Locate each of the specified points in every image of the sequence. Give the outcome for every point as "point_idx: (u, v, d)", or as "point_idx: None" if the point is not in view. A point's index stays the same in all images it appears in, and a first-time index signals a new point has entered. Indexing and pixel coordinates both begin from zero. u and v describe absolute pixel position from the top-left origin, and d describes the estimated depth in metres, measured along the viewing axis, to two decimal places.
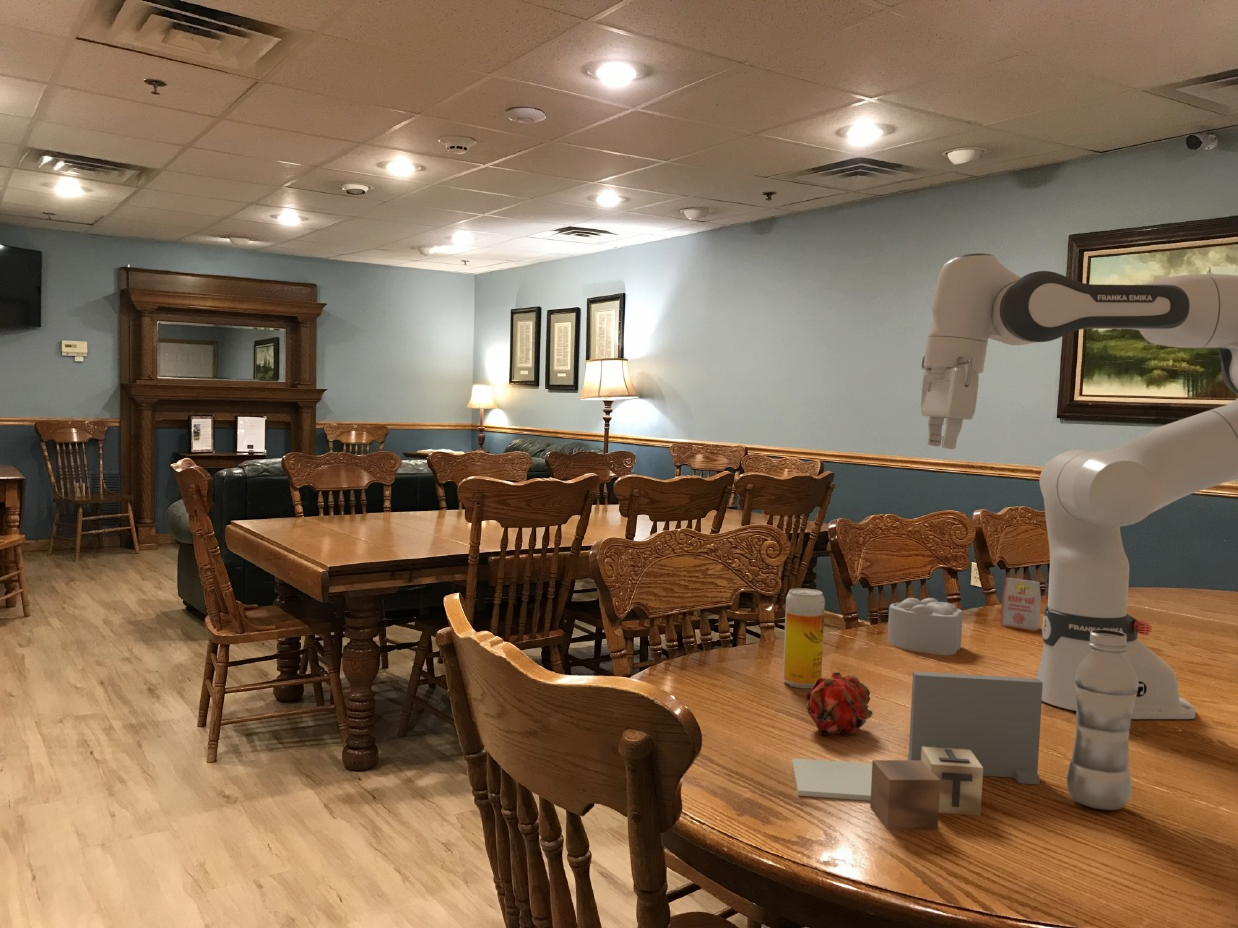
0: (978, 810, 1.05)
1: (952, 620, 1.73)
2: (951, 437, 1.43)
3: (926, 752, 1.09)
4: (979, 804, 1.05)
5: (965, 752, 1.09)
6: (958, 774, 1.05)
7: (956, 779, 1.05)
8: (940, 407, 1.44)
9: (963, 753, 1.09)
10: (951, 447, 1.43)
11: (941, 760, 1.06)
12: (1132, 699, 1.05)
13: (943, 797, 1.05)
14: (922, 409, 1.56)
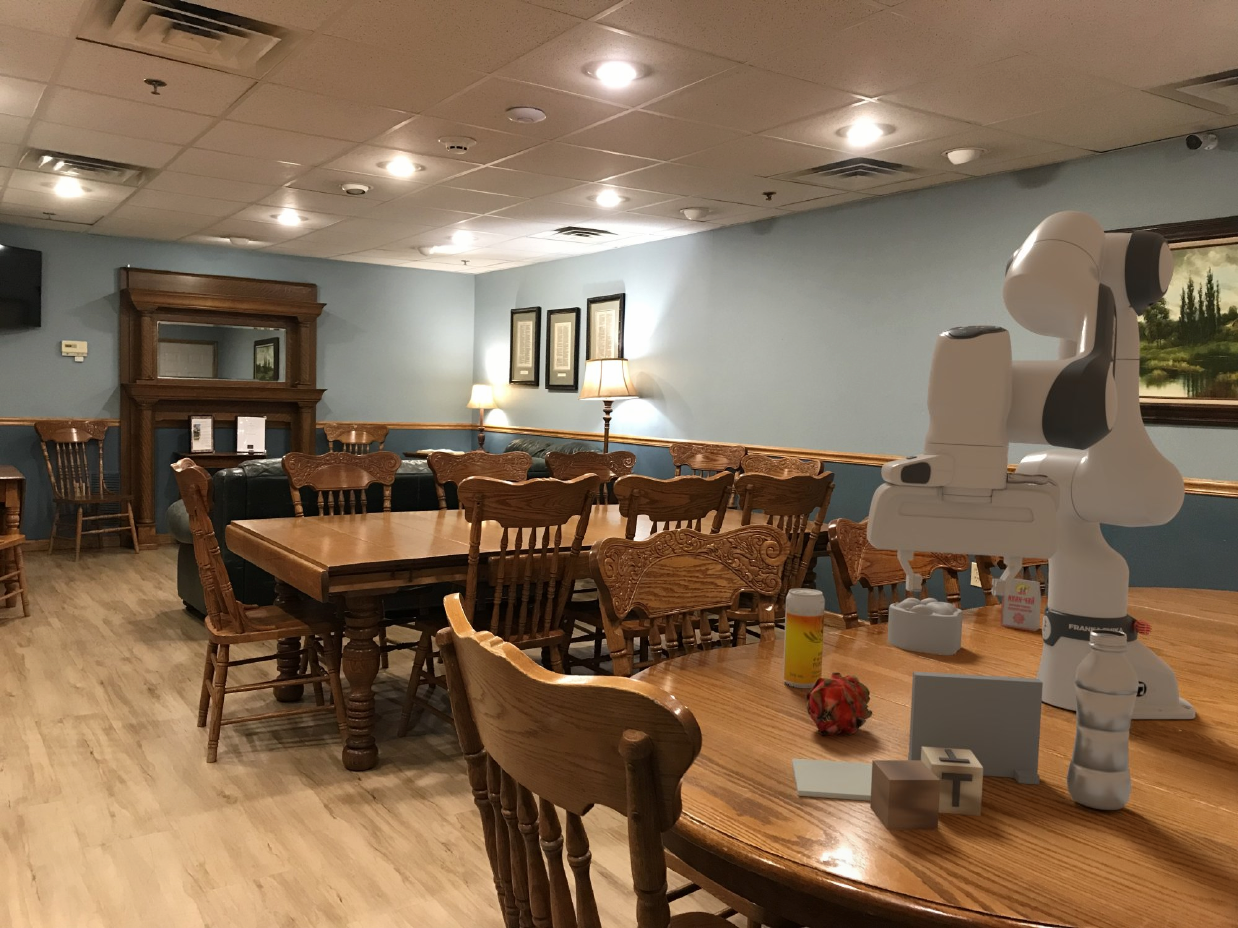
0: (978, 810, 1.05)
1: (952, 620, 1.73)
2: None
3: (926, 752, 1.09)
4: (979, 804, 1.05)
5: (965, 752, 1.09)
6: (958, 774, 1.05)
7: (956, 779, 1.05)
8: (998, 543, 1.04)
9: (963, 753, 1.09)
10: None
11: (941, 760, 1.06)
12: (1132, 699, 1.05)
13: (943, 797, 1.05)
14: (885, 540, 1.05)
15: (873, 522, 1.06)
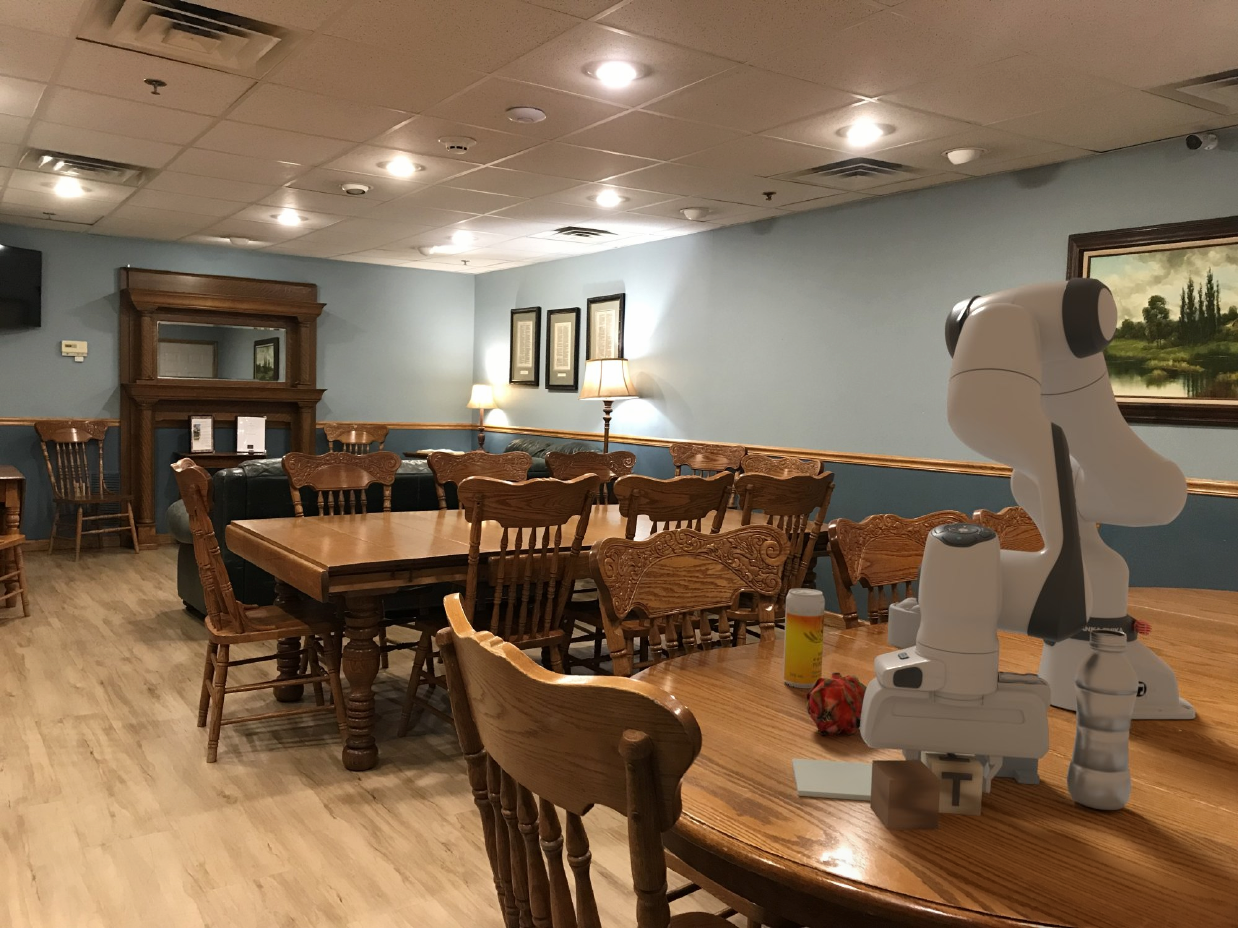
0: (978, 809, 1.05)
1: None
2: None
3: (926, 751, 1.09)
4: (979, 803, 1.05)
5: None
6: (958, 773, 1.05)
7: (956, 778, 1.05)
8: (990, 744, 1.05)
9: None
10: None
11: (941, 759, 1.06)
12: (1132, 699, 1.05)
13: (943, 797, 1.05)
14: (878, 740, 1.06)
15: (866, 722, 1.07)
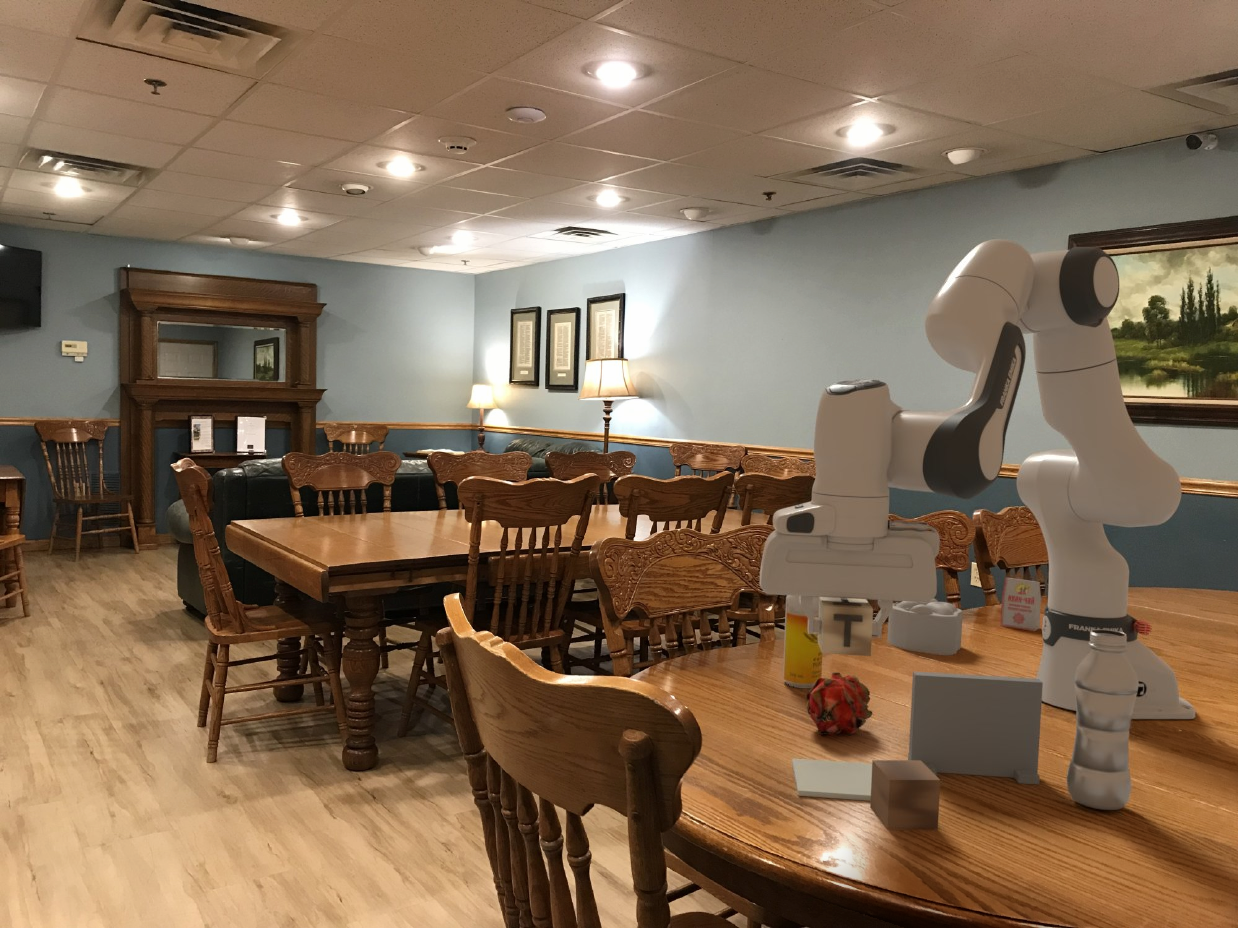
0: (868, 650, 1.09)
1: (952, 619, 1.73)
2: None
3: (822, 600, 1.13)
4: (869, 644, 1.09)
5: (860, 600, 1.13)
6: (849, 615, 1.09)
7: (847, 620, 1.09)
8: (880, 588, 1.09)
9: (857, 601, 1.13)
10: None
11: (834, 604, 1.10)
12: (1132, 699, 1.05)
13: (835, 638, 1.09)
14: (774, 586, 1.11)
15: (762, 569, 1.11)
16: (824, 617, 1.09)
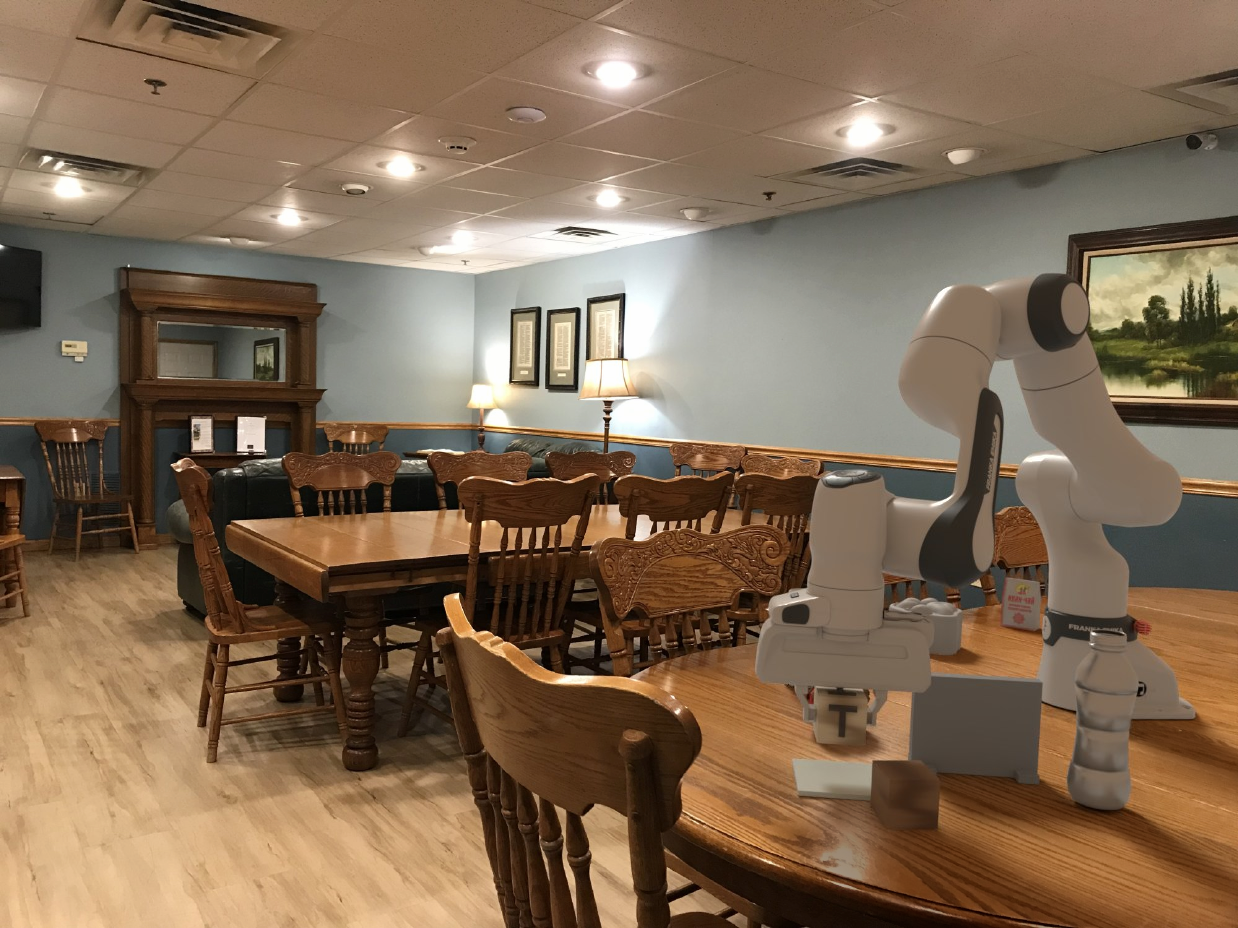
0: (863, 740, 1.10)
1: (953, 620, 1.73)
2: None
3: (817, 687, 1.13)
4: (864, 734, 1.10)
5: None
6: (844, 705, 1.10)
7: (842, 711, 1.10)
8: (875, 679, 1.10)
9: (852, 688, 1.13)
10: None
11: (829, 693, 1.11)
12: (1132, 699, 1.05)
13: (830, 728, 1.10)
14: (769, 675, 1.11)
15: (758, 658, 1.11)
16: (819, 707, 1.10)
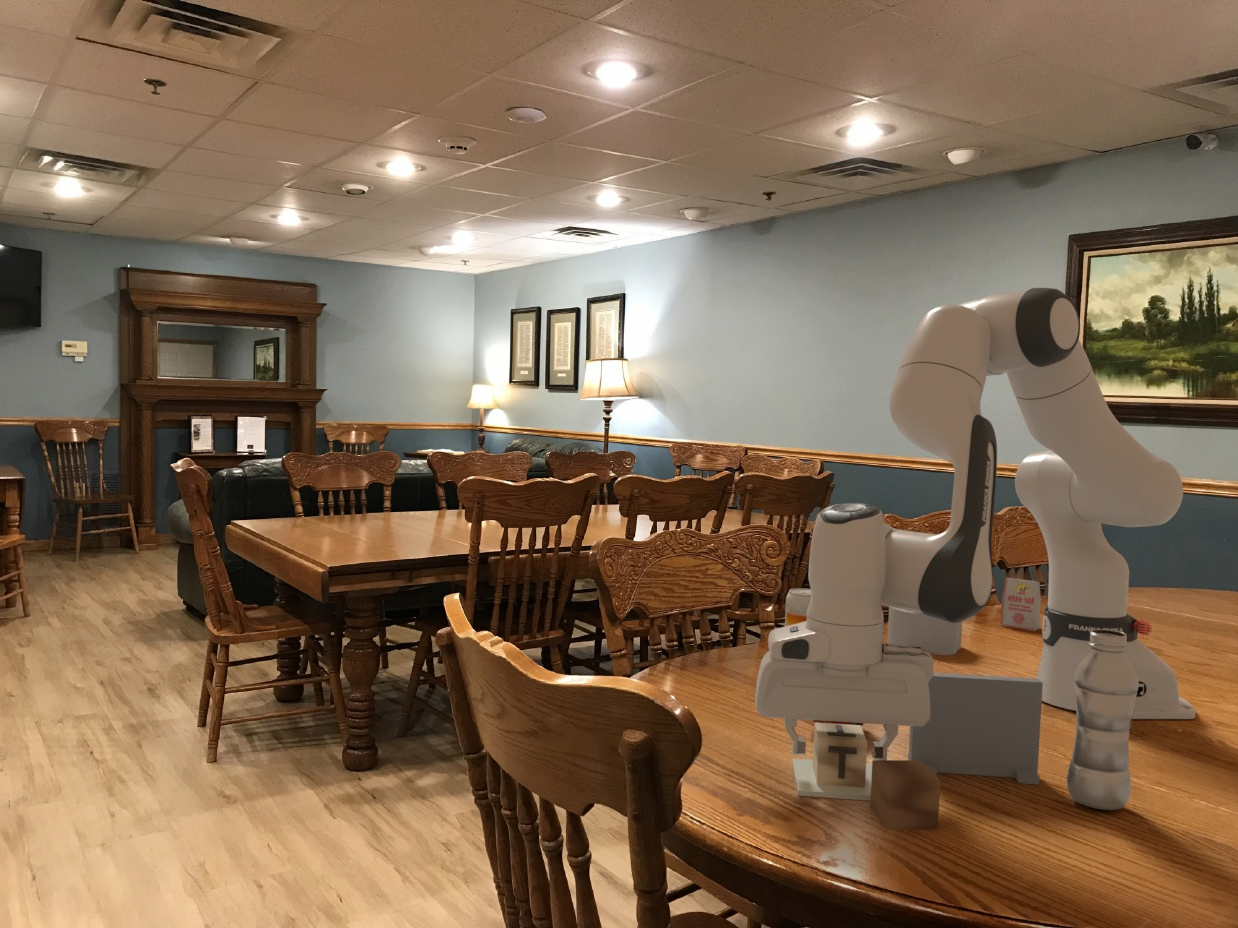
0: (863, 782, 1.10)
1: None
2: None
3: (817, 727, 1.14)
4: (863, 776, 1.10)
5: (854, 727, 1.14)
6: (843, 747, 1.10)
7: (842, 752, 1.10)
8: (875, 713, 1.10)
9: (852, 728, 1.14)
10: None
11: (829, 734, 1.11)
12: (1132, 699, 1.05)
13: (829, 770, 1.10)
14: (769, 709, 1.12)
15: (758, 692, 1.12)
16: (819, 748, 1.10)
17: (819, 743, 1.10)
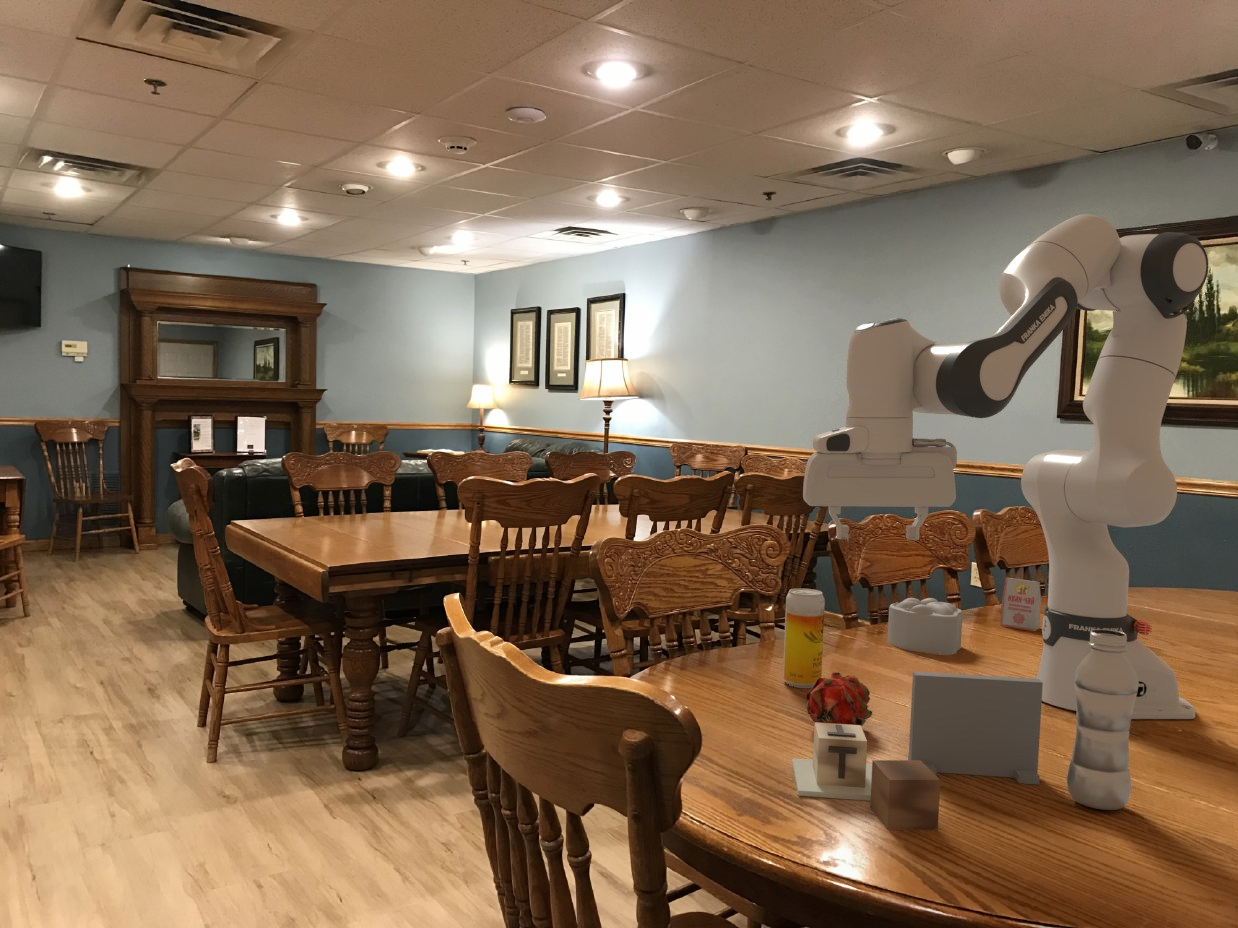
0: (863, 782, 1.10)
1: (952, 619, 1.73)
2: None
3: (817, 727, 1.14)
4: (863, 776, 1.10)
5: (854, 727, 1.14)
6: (843, 747, 1.10)
7: (842, 752, 1.10)
8: (908, 496, 1.28)
9: (852, 728, 1.14)
10: None
11: (829, 734, 1.11)
12: (1132, 699, 1.05)
13: (829, 770, 1.10)
14: (816, 499, 1.29)
15: (806, 484, 1.29)
16: (819, 748, 1.10)
17: (819, 743, 1.10)
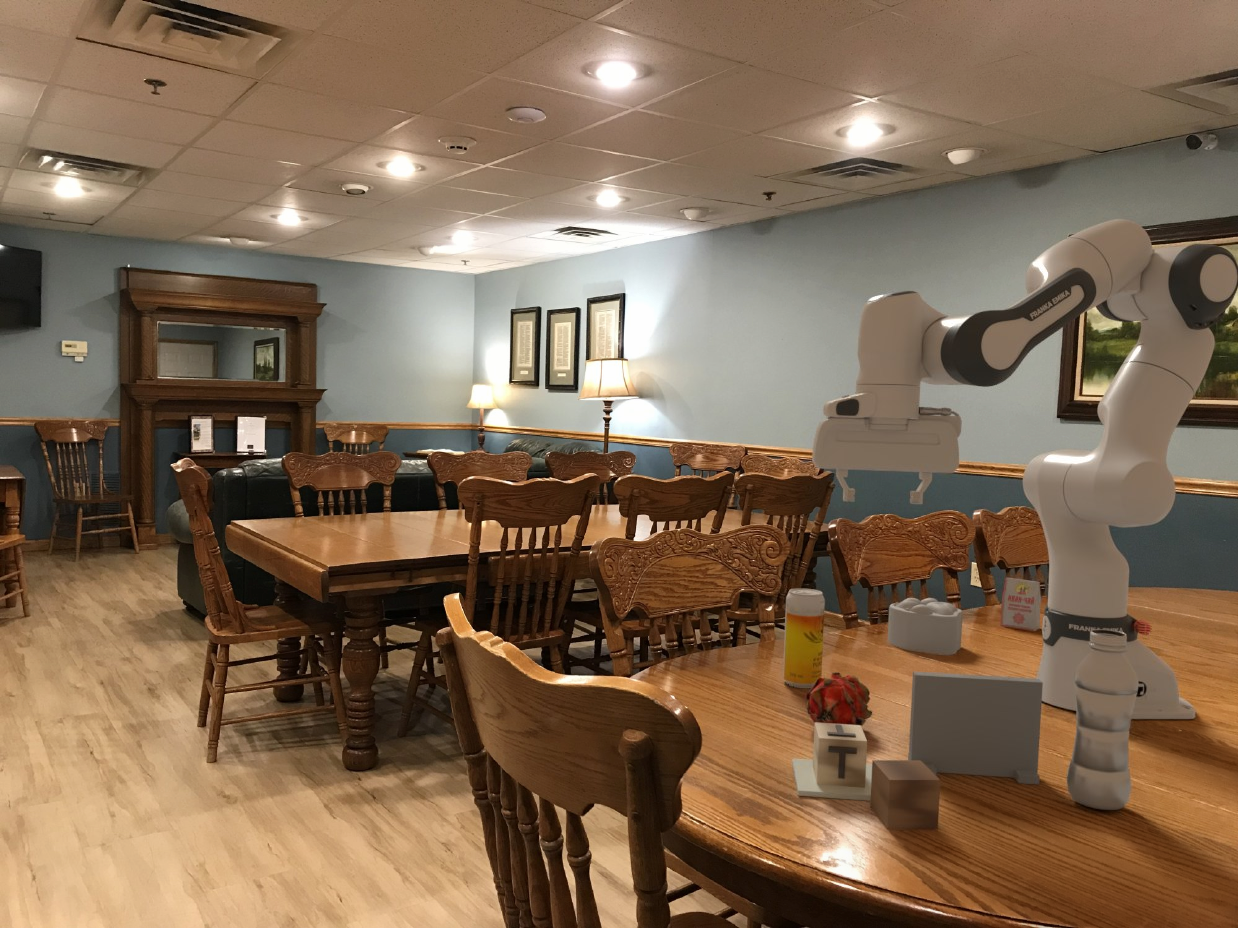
0: (863, 782, 1.10)
1: (953, 619, 1.73)
2: None
3: (817, 727, 1.14)
4: (863, 776, 1.10)
5: (854, 727, 1.14)
6: (843, 747, 1.10)
7: (842, 752, 1.10)
8: (913, 462, 1.33)
9: (852, 728, 1.14)
10: None
11: (829, 734, 1.11)
12: (1132, 699, 1.05)
13: (829, 770, 1.10)
14: (825, 461, 1.35)
15: (816, 447, 1.35)
16: (819, 748, 1.10)
17: (819, 743, 1.10)
